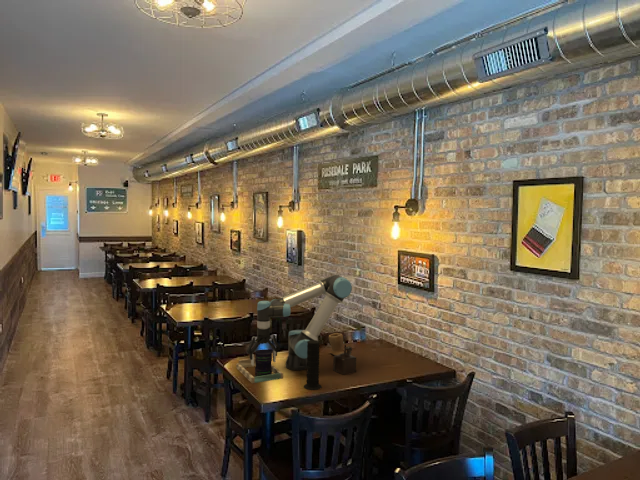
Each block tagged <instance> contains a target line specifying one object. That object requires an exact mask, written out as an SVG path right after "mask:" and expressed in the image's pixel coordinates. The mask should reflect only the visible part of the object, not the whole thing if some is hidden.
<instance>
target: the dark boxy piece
mask: <svg viewBox="0 0 640 480" xmlns="http://www.w3.org/2000/svg"><path fill="white" fill-rule="evenodd" d="M343 350H344V353H342V354H340V355H333V365H332V366H333V367H332V371H333V372H335V373H338V374H340V375H342V376H343V375H344V376H345V375H351V374H353V373H357V356H354V355H352V351H353V348H352V347H351V345H350V346H349V345H348V346H347V344H343ZM350 354H351V355H350Z"/></svg>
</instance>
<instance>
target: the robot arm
mask: <svg viewBox="0 0 640 480" xmlns="http://www.w3.org/2000/svg"><path fill="white" fill-rule="evenodd" d="M352 289H353V285H352V283H351V281H350V280H348V279H347V278H345V277H343V276H340V275H335V274H334V275H331V276H328V277H326V278H323V279H321V280H319V282H318V283H315V284H313V285H311V286H308V287H305V288H302V289H300V290H297V291H295V292H293V293H290V294H287V295H285V296H282V297H281V298H278V299H277V298H275V299H272V300H261V301H258V302H257V307H256V314H257V315H256V319H257V321H256V324H257V325H256V327H257V329H256V336H251V340H250V342H249V345H248V347H247V349H246V354H247V355H248V354H249V359H250V360H251V365H254V358H255V354H254V352H256V351H257V348H258V347H259V346H260V345H263V344H269V346H270V347H271V348H272V349H273V350H272V362H273V363H276V362H277V361H276V360H277V356H278V352H279V350H281V347H280V345H279V343H278V341H277V339H276V335H275V334H273V333H272V334H271V318H285V317H289V316H290V315H291V311H292V310H291V307H295V306H297V305H300V304H302V303H305V302H308V301H309V300H312V299H314V298H317V297H320V296H322V295H324V296H325V297H324V299H323V301H322V302H321V304H320V306H319V307H318V308H317V311H316V312H315V314H314V315H313V317H312V319H311V320H310V322H309V323H308V325H307V327H306V328H305V329H294V330H289V331H288V350H287V351H288V352H287V354H288V355H287V358H286V360H285V365H284V366H285V368H286V369H288V370H291V371H304V370H307V349H308V348H307V345H308V343H307V341H310V340H317V341H319V336H320V334H321V333H322V331H323V329H324V327H325V326H326V324H327V323H328V321H329V319H330V318H331V316H332V314H333V313H334V311H335V310H336V308H337V306H338V304H341V303H343V301H344V300H345V299H346V298H347V297H349V296H350V295H351V293H352ZM256 340H257V341H256ZM271 340H272V341H273V342H271ZM255 341H256V342H255ZM273 343H274V344H273Z"/></svg>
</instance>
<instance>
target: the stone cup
mask: <svg viewBox="0 0 640 480" xmlns="http://www.w3.org/2000/svg"><path fill="white" fill-rule="evenodd" d="M328 342H329V344H330V346H331V350H330V351H329V354H331V355H333V356H335V355H340V354H342V353H344V335H343V334H342V332H341V333H340V332H339V333H338V332H336V333H335V332H334V333H331V334H329V335H328ZM350 355H352V353H351V354H350Z"/></svg>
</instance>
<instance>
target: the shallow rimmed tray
mask: <svg viewBox="0 0 640 480" xmlns="http://www.w3.org/2000/svg"><path fill="white" fill-rule="evenodd" d="M235 365H236V369H237V371H239V372H240V373H241V374H242V375H243V376H244V377H245V378H246V379H247V380H248V381H249V382H250V383H251V384H257V383H262V382H269V381H276V380H281V379H284V373H283V372H282V371H281V370H279V369H278V368H276V367H275V366H274V365H273V364H272V363H271V367H272V374H270V375H263V376H256V377H255V376H253V375H252V374H251V372H249V371H248V370H247V367H248V368H255V367H256V362H255V357H254V365H251V360H250V358H243V359H238V362H237V363H236V364H235ZM254 366H255V367H254Z"/></svg>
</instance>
